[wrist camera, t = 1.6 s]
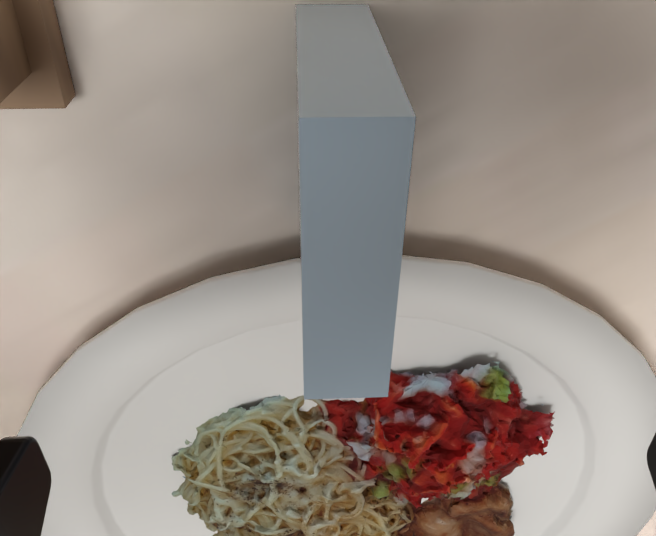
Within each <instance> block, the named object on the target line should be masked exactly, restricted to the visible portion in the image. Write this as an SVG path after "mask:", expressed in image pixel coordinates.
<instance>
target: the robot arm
mask: <svg viewBox="0 0 656 536" xmlns="http://www.w3.org/2000/svg"><path fill="white" fill-rule="evenodd" d="M647 464H648V468H649V471H650V474H651V477H652V480H653V483H654V486H655V489H656V433H655V435H654V437H653V439H652V441H651V443H650V445H649V447H648V450H647ZM50 489H51V472H50V469H49V466H48V464H47V462H46V460H45V457H44V455H43V453H42V450H41V448H40V446H39V444H38V442H37V440H36V439H35V438H33V437H32V436H17V437H5V438H3V439H1V440H0V536H41V533H42V528H43V523H44V518H45V513H46V508H47V503H48V499H49V494H50Z"/></svg>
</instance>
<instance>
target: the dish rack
mask: <svg viewBox="0 0 656 536" xmlns="http://www.w3.org/2000/svg"><path fill="white" fill-rule="evenodd" d="M74 97H75V91H74V87H73V83H72V79H71V74H70V70H69V66H68V62H67V58H66V53H65V49H64V45H63V41H62V37H61V32H60V28H59V24H58V20H57V16H56V11H55V7H54V3H53V0H0V109H36V108H66V107H67V106H68V104H69V103H70V102H71V100H72V99H73V98H74Z"/></svg>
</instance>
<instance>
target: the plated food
mask: <svg viewBox="0 0 656 536" xmlns="http://www.w3.org/2000/svg"><path fill="white" fill-rule="evenodd" d="M655 433H656V377H655V375H654V373H653V371H652V370H651V368H650V366H649V364H648V363H647V361H646V359H645V358H644V356H643V355H642V353H641V352H640V351H639V350H638V349H637V348H636V347H635V346H633V345H632V344H631V343H630V342H629V341H628V340H627V339H626V338H625V337H624V336H623V335H621V334H620V333H619V332H618V331H617V330H616V329H615V328H614V327H613V326H612V325H611V324H609V323H608V322H607V321H606V320H605V319H604V318H603V317H602V316H601V315H599V314H597V313H596V312H594V311H592V310H590V309H588V308H586V307H584V306H582V305H581V304H579V303H577V302H575V301H573V300H571V299H569V298H567V297H566V296H564V295H562V294H560V293H558V292H556V291H554V290H552V289H551V288H549V287H547V286H545V285H543V284H541V283H538V282H534V281H531V280H527V279H524V278H521V277H517V276H514V275H510V274H507V273H503V272H500V271H496V270H493V269H490V268H486V267H483V266H479V265H476V264H472V263H469V262H462V261H453V260H443V259H433V258H424V257H414V256H405V255H402V261H401V271H400V281H399V291H398V301H397V311H396V321H395V331H394V341H393V351H392V361H391V371H390V381H389V391H388V397H372V398H339V399H307V400H304V381H303V338H302V295H301V258H294V259H290V260H285V261H281V262H276V263H272V264H268V265H263V266H259V267H254V268H250V269H245V270H241V271H236V272H232V273H228V274H223V275H219V276H214V277H210V278H208V279H205V280H203V281H200V282H198V283H196V284H193V285H191V286H188V287H186V288H184V289H181V290H179V291H176V292H174V293H171V294H169V295H167V296H164V297H162V298H159V299H157V300H155V301H152V302H150V303H147V304H145V305H143V306H140V307H138V308H136V309H134V310H133V311H131V312H130V313H128V314H127V315H126V316H124V317H123V318H121V319H120V320H118V321H117V322H115V323H114V324H112V325H111V326H109V327H108V328H106V329H105V330H103V331H102V332H100V333H99V334H97V335H96V336H94V337H93V338H91V339H90V340H88V341H87V342H85V343H84V344H82V345H81V346H79V347H78V348H77V349H76V351H75V352H74V353H73V354H72V355H71V356H70V357H69V358H68V359H67V360H66V361H65V363H64V364H63V365H62V366H61V367H60V368H59V369H58V370H57V371H56V372H55V373H54V375H53V376H52V377H51V378H50V379H49V380H48V381H47V382H46V383H45V384H44V385H43V387H42V388H41V389H40V390H39V392H38V394H37V396H36V398H35V400H34V402H33V404H32V406H31V408H30V410H29V412H28V415H27V417H26V419H25V421H24V423H23V425H22V427H21V429H20V431H19V433H18V435H17V436H32V437H33V438H35V439H36V440H37V442H38V444H39V446H40V448H41V450H42V453H43V455H44V457H45V460H46V462H47V464H48V466H49V469H50V472H51V489H50V494H49V499H48V503H47V508H46V513H45V518H44V523H43V528H42V533H41V536H637V534H638V533H639V532H640V531H641V529H642V528H643V527H644V526H645V524H646V523H647V522H648V521H649V520H650V518H651V517H652V516H653V514H654V512H655V510H656V489H655V486H654V483H653V480H652V477H651V474H650V471H649V468H648V464H647V450H648V447H649V445H650V443H651V441H652V439H653V437H654V435H655Z"/></svg>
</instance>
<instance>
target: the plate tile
mask: <svg viewBox="0 0 656 536" xmlns="http://www.w3.org/2000/svg"><path fill="white" fill-rule="evenodd" d="M296 51H297V103H298V154H299V206H300V252H301V295H302V338H303V381H304V400H307V399H339V398H372V397H388V391H389V381H390V371H391V361H392V351H393V341H394V331H395V321H396V311H397V301H398V291H399V281H400V271H401V261H402V251H403V241H404V231H405V221H406V211H407V201H408V191H409V181H410V171H411V161H412V151H413V141H414V131H415V121H416V116H415V113H414V111H413V108H412V106H411V104H410V101H409V99H408V97H407V94H406V92H405V90H404V87H403V85H402V83H401V80H400V78H399V76H398V73H397V71H396V69H395V66H394V64H393V62H392V59H391V57H390V55H389V52H388V50H387V48H386V45H385V43H384V41H383V38H382V36H381V33H380V31H379V29H378V26H377V24H376V22H375V19H374V17H373V15H372V12H371V10H370V8H369V5H368V4H296Z"/></svg>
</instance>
